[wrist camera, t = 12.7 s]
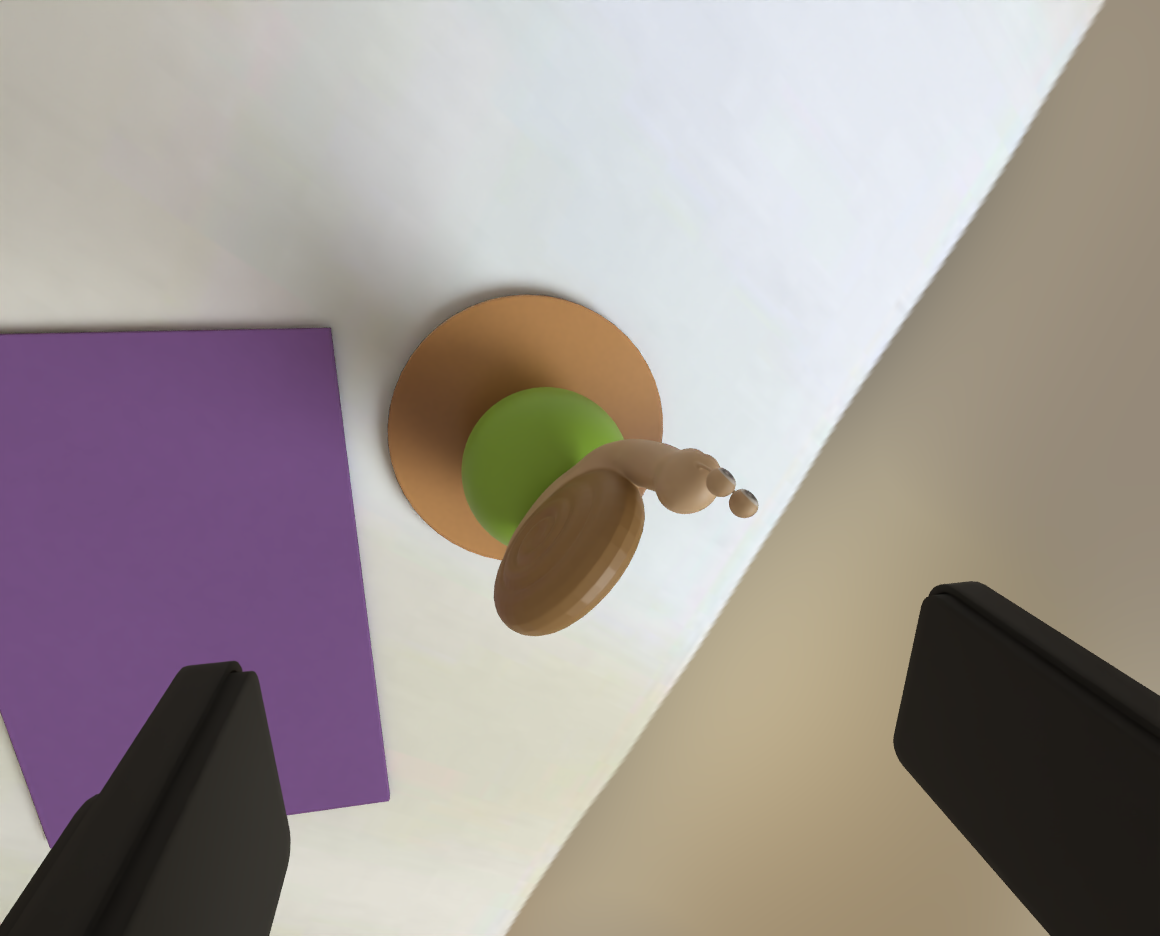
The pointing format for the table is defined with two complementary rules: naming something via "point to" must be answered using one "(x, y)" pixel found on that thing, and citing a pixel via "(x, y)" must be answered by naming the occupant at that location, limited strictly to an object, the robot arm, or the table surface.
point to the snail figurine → (573, 500)
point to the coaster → (505, 394)
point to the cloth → (180, 553)
